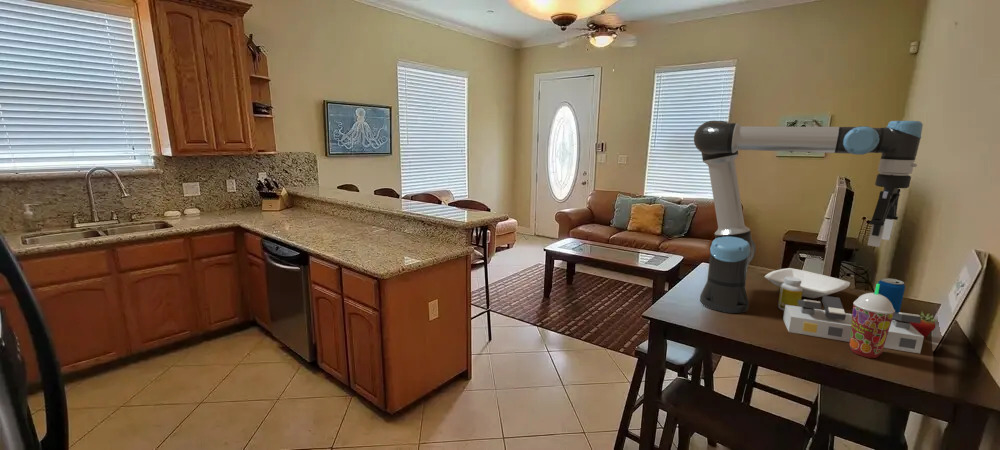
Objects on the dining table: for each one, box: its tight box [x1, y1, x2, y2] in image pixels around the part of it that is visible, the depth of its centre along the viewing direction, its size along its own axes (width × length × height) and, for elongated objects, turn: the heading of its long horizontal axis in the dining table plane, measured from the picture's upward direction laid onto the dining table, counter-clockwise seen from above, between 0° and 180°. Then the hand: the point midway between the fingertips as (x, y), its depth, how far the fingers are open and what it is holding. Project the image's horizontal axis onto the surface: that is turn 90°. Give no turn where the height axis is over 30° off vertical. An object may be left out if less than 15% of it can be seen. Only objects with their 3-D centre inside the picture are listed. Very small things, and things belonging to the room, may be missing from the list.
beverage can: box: [877, 277, 906, 313], centre depth 136 cm, size 6×6×12 cm
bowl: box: [764, 267, 851, 299], centre depth 156 cm, size 22×23×6 cm
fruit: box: [909, 310, 937, 339], centre depth 121 cm, size 5×5×8 cm
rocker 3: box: [892, 311, 921, 323], centre depth 117 cm, size 4×8×2 cm, turn 154°
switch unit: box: [782, 305, 925, 354], centre depth 123 cm, size 30×10×7 cm, turn 64°
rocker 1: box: [798, 299, 822, 310], centre depth 126 cm, size 4×8×2 cm, turn 154°
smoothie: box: [848, 283, 895, 359], centre depth 111 cm, size 8×8×20 cm
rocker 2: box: [821, 295, 846, 320], centre depth 124 cm, size 4×8×2 cm, turn 154°
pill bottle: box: [777, 277, 803, 312], centre depth 141 cm, size 6×6×11 cm
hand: (878, 242), depth 128 cm, fingers open, 13 cm apart
